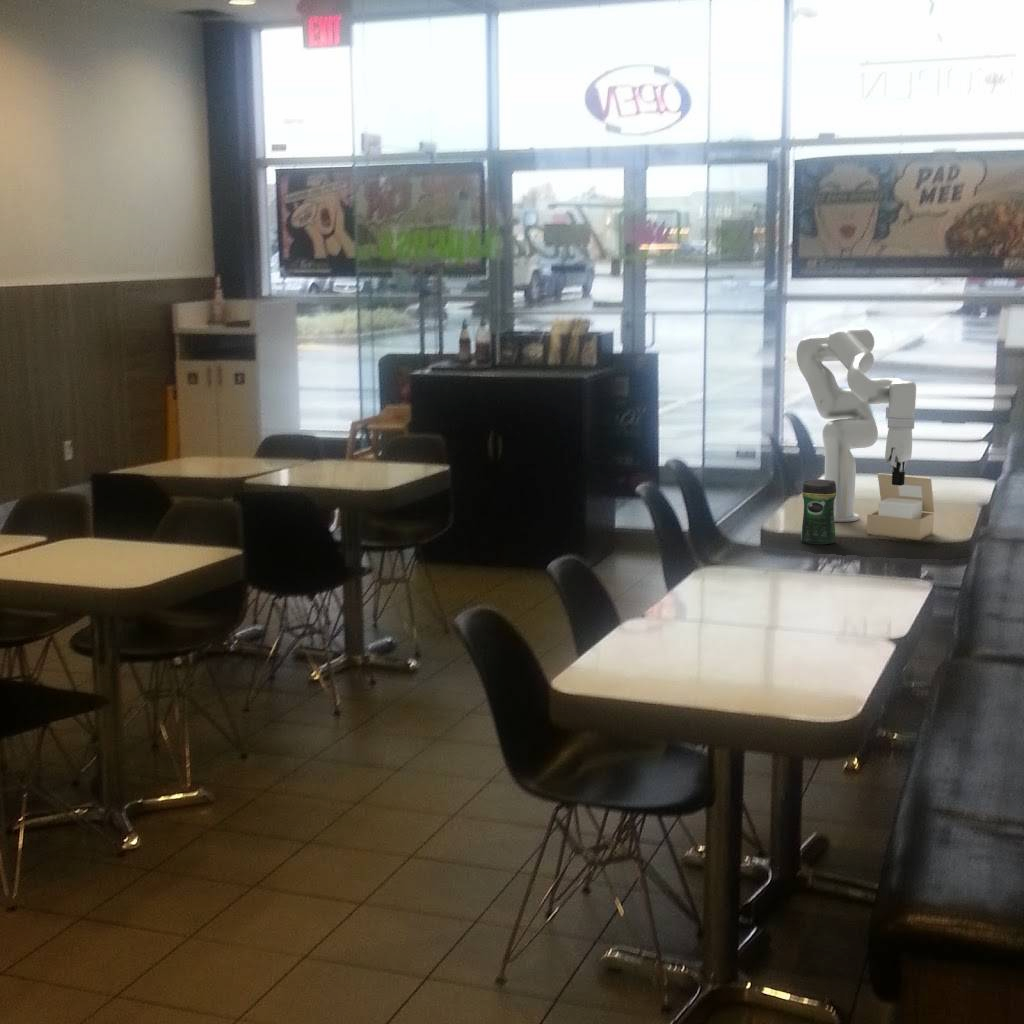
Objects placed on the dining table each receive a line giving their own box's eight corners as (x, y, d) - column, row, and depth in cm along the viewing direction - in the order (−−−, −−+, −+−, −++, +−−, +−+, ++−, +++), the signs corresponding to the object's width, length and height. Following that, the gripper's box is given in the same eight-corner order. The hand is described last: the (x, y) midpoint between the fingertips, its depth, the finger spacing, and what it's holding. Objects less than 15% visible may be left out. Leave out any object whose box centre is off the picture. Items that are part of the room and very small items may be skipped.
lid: (877, 474, 402) (878, 472, 403) (881, 507, 408) (882, 506, 409) (930, 478, 393) (931, 477, 394) (933, 512, 399) (934, 511, 400)
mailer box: (866, 534, 400) (868, 501, 398) (880, 527, 410) (882, 495, 408) (919, 540, 391) (921, 506, 389) (932, 533, 400) (934, 500, 399)
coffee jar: (837, 541, 391) (840, 478, 388) (830, 546, 384) (832, 482, 381) (805, 538, 396) (807, 476, 392) (797, 543, 389) (799, 480, 385)
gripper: (897, 419, 399) (894, 479, 403) (879, 425, 387) (876, 487, 391) (922, 421, 395) (919, 482, 398) (904, 427, 383) (901, 490, 387)
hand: (897, 484), depth 395 cm, fingers closed
